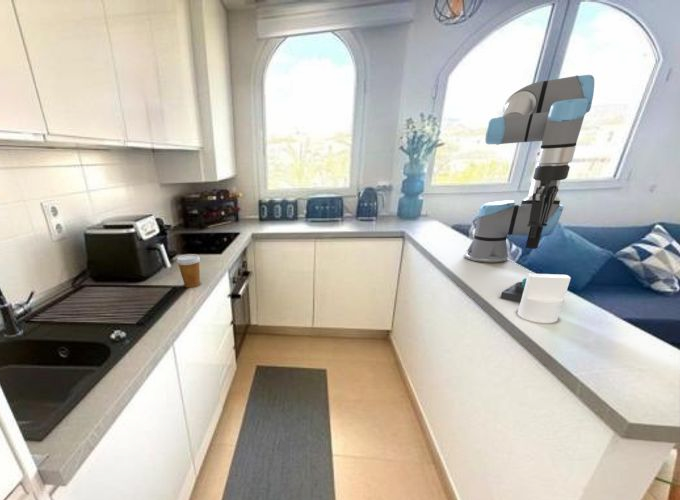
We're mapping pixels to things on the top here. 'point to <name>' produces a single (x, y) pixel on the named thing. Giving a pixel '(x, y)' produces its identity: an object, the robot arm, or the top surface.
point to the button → (524, 282)
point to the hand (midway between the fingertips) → (531, 247)
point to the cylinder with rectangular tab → (543, 297)
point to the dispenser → (513, 292)
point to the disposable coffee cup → (189, 269)
